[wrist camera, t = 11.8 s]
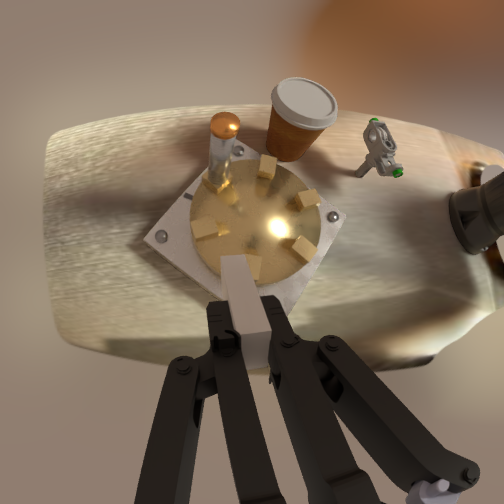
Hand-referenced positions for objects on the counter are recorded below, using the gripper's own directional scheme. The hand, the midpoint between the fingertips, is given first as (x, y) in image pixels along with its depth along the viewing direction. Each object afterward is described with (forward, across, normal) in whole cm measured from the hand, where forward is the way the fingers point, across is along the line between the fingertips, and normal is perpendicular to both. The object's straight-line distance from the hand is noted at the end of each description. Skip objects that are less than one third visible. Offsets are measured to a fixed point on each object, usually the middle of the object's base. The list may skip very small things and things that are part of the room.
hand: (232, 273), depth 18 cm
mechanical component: (+26, -26, 0) cm, 37 cm away
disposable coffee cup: (+30, -13, -3) cm, 32 cm away
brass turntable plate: (+17, -5, +5) cm, 18 cm away
